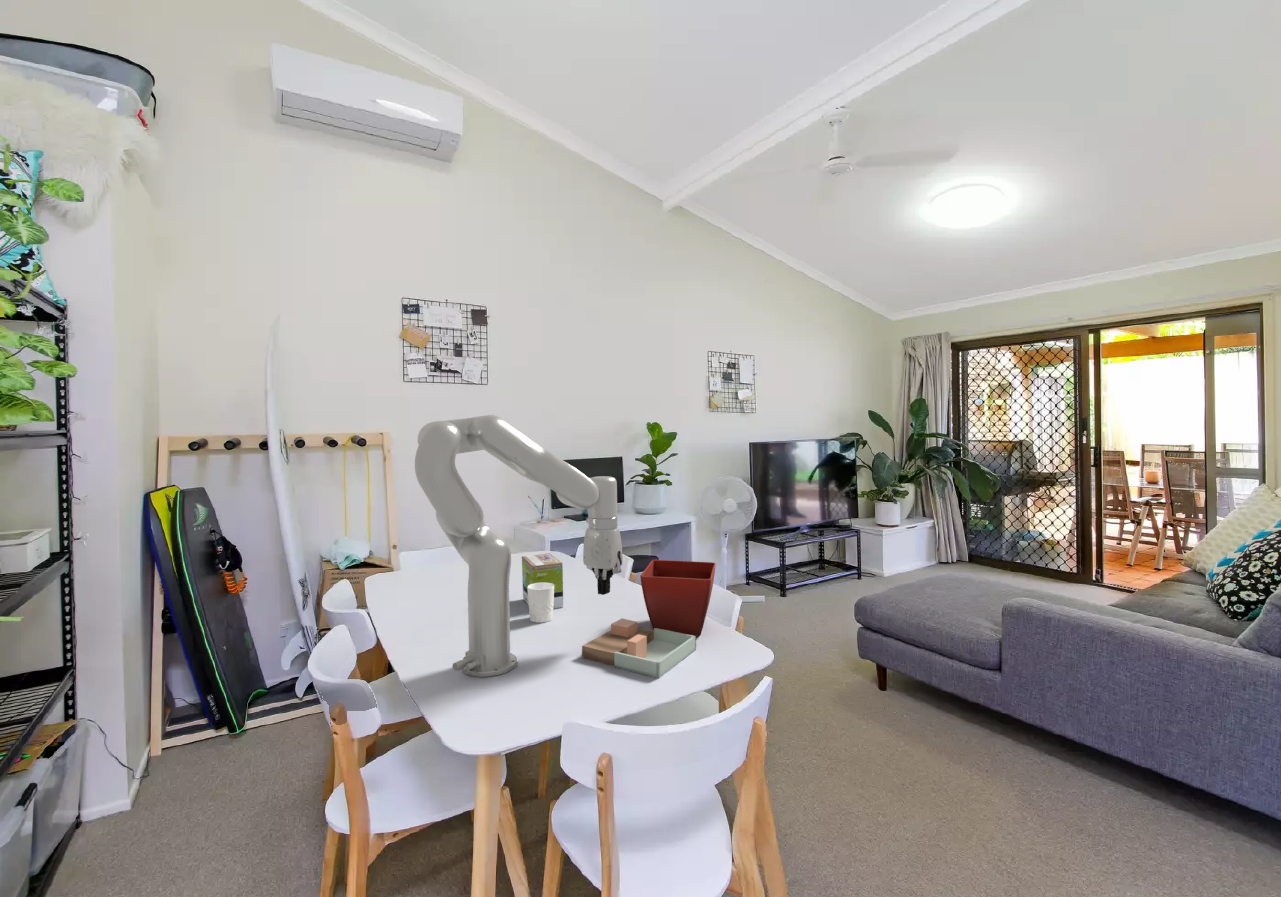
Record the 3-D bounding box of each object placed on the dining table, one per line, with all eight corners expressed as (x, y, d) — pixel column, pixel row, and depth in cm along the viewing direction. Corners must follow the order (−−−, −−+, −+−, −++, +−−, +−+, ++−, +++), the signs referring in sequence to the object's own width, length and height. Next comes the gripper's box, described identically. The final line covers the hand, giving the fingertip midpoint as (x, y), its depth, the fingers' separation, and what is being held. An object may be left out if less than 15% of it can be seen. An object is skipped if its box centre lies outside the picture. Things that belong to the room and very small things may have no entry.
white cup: (522, 621, 167) (521, 587, 167) (539, 613, 174) (538, 581, 174) (543, 625, 164) (543, 590, 163) (560, 617, 171) (559, 584, 170)
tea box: (521, 599, 189) (521, 555, 189) (551, 595, 193) (550, 552, 193) (533, 612, 176) (532, 564, 175) (564, 607, 180) (563, 561, 179)
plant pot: (711, 642, 150) (710, 578, 149) (640, 637, 153) (639, 575, 153) (716, 618, 168) (716, 562, 168) (652, 615, 172) (652, 559, 172)
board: (615, 666, 135) (615, 653, 135) (582, 657, 140) (581, 645, 140) (653, 641, 150) (653, 630, 150) (622, 635, 155) (622, 624, 155)
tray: (658, 678, 128) (658, 663, 128) (614, 667, 134) (614, 652, 134) (696, 649, 144) (695, 636, 144) (655, 641, 151) (654, 627, 151)
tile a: (627, 661, 136) (636, 663, 135) (627, 640, 136) (636, 642, 135) (638, 654, 140) (646, 656, 139) (637, 634, 140) (646, 636, 139)
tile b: (627, 637, 146) (627, 627, 145) (611, 633, 148) (611, 624, 148) (637, 631, 150) (637, 621, 150) (621, 627, 152) (621, 618, 152)
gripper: (571, 523, 150) (572, 592, 151) (617, 528, 142) (618, 601, 142) (589, 519, 156) (590, 585, 157) (634, 524, 148) (635, 594, 148)
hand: (603, 593), depth 149 cm, fingers closed
